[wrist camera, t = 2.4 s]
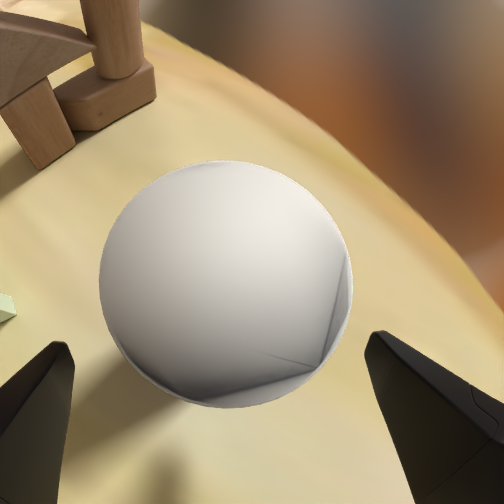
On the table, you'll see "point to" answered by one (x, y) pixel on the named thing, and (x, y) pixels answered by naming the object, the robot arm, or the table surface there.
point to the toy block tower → (79, 87)
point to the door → (6, 307)
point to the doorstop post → (225, 284)
